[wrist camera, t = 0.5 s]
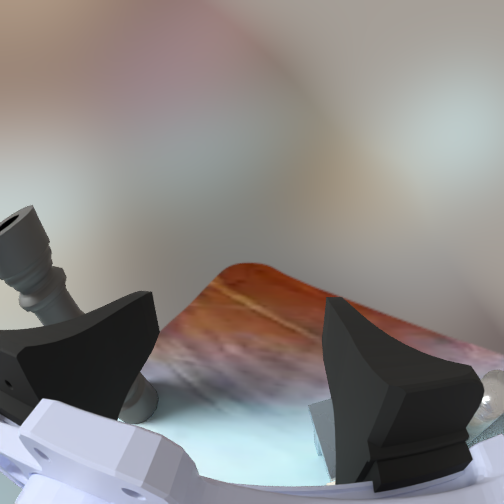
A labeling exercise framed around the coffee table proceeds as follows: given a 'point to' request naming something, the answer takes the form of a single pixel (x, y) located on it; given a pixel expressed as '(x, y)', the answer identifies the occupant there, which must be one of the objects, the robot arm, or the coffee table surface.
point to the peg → (488, 404)
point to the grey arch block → (325, 434)
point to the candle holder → (53, 293)
